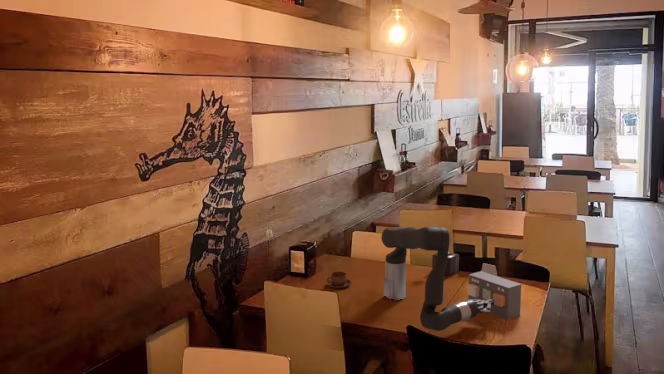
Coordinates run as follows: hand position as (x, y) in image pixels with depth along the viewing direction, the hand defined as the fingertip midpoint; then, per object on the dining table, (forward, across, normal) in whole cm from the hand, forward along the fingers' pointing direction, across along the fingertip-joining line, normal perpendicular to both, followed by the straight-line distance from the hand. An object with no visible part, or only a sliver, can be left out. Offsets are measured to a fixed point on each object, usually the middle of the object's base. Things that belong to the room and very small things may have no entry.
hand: (492, 301), depth 249 cm
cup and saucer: (-27, +74, +8) cm, 79 cm away
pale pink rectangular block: (+34, +31, +8) cm, 47 cm away
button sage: (+7, +7, +2) cm, 10 cm away
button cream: (+5, +14, +2) cm, 15 cm away
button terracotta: (+5, 0, +2) cm, 5 cm away
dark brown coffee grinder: (+28, +58, +8) cm, 65 cm away
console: (+9, +7, +8) cm, 14 cm away
